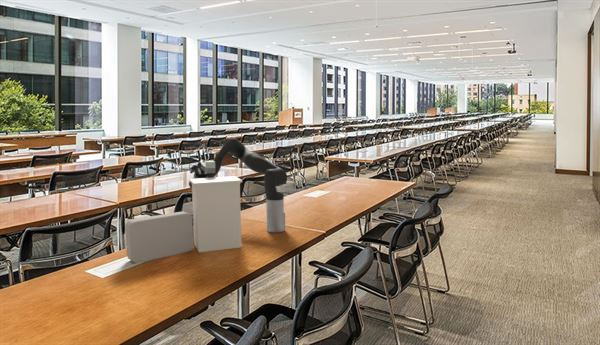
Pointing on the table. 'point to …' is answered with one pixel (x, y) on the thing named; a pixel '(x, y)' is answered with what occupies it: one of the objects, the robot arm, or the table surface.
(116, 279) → the table surface
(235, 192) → the tall stand
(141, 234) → the rounded white slab
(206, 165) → the bar
